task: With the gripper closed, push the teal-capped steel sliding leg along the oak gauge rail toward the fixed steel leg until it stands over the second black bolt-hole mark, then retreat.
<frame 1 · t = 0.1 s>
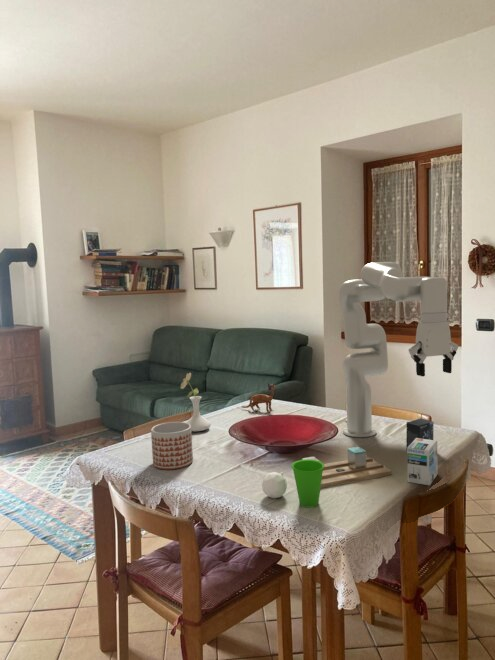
hand: (434, 374, 160), 31 cm above the table, fingers open, 9 cm apart
box: (420, 451, 182), on the table
flower in vase: (196, 430, 218), on the table
sliding leg: (356, 458, 166), point 4 cm above the table, slide at 5.0 cm
ornament: (274, 497, 150), on the table
cup: (309, 504, 145), on the table
light bulb box: (422, 478, 159), on the table
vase: (173, 463, 181), on the table
gauge board: (343, 473, 165), on the table
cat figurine: (258, 411, 245), on the table
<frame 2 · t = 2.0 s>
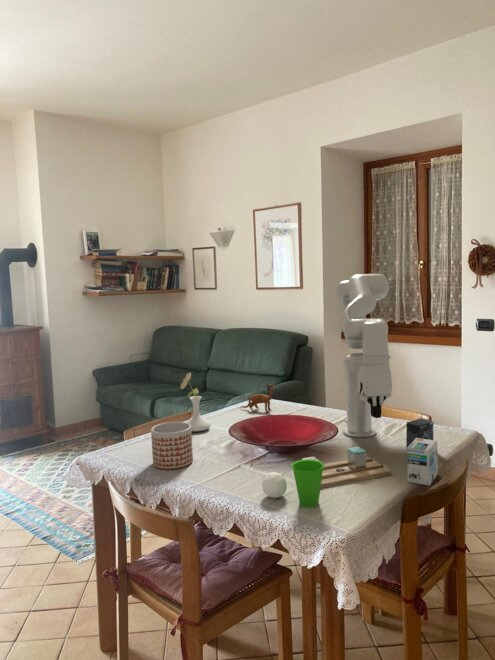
hand: (376, 416, 167), 17 cm above the table, fingers closed
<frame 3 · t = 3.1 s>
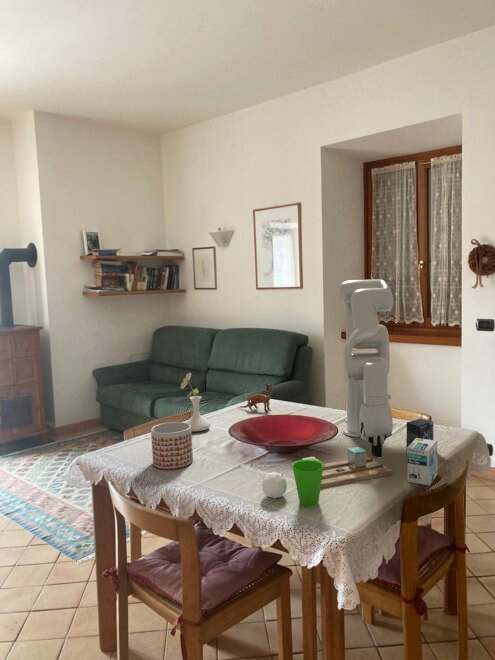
hand: (376, 456, 168), 4 cm above the table, fingers closed
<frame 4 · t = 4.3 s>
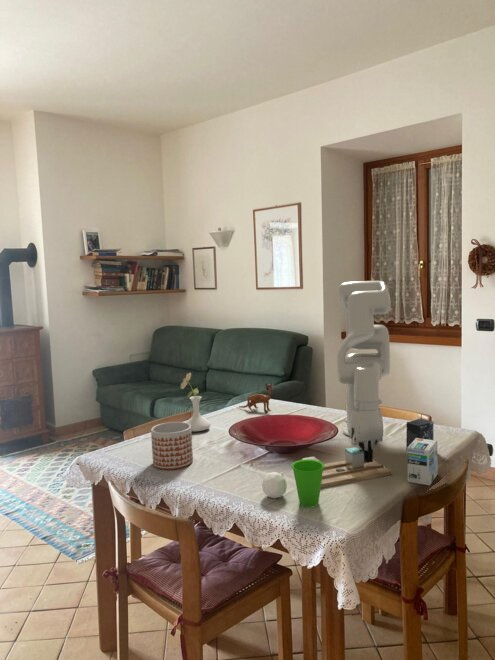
hand: (367, 460, 168), 3 cm above the table, fingers closed
sliding leg: (354, 458, 166), point 4 cm above the table, slide at 4.1 cm, touching gripper
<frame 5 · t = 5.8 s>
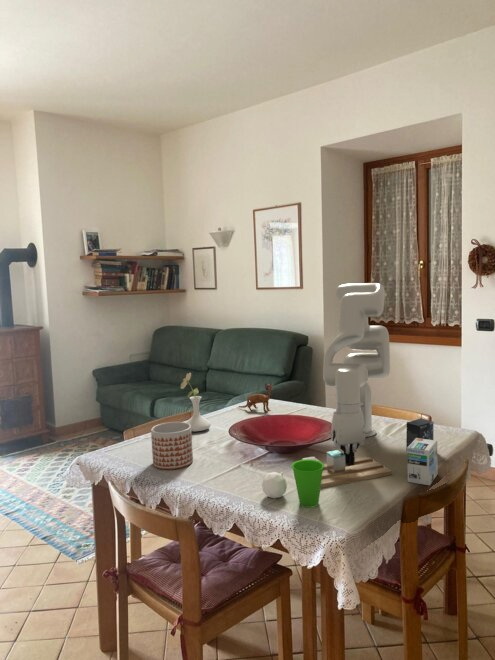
hand: (349, 464, 166), 3 cm above the table, fingers closed
sliding leg: (336, 461, 164), point 4 cm above the table, slide at -2.5 cm, touching gripper
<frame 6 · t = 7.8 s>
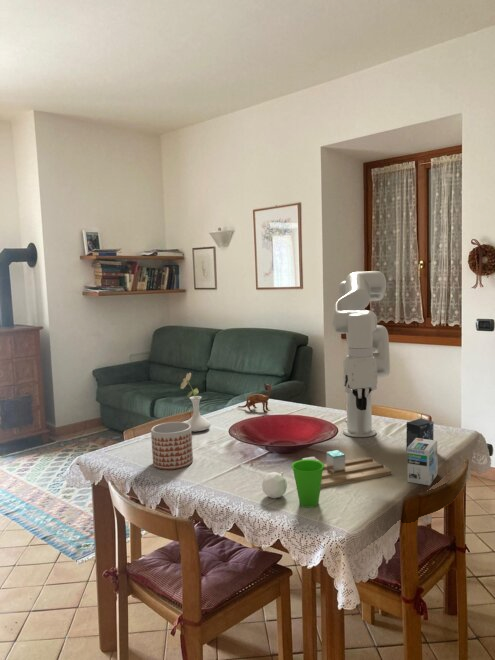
hand: (361, 409, 167), 20 cm above the table, fingers closed
sliding leg: (335, 461, 164), point 4 cm above the table, slide at -2.5 cm
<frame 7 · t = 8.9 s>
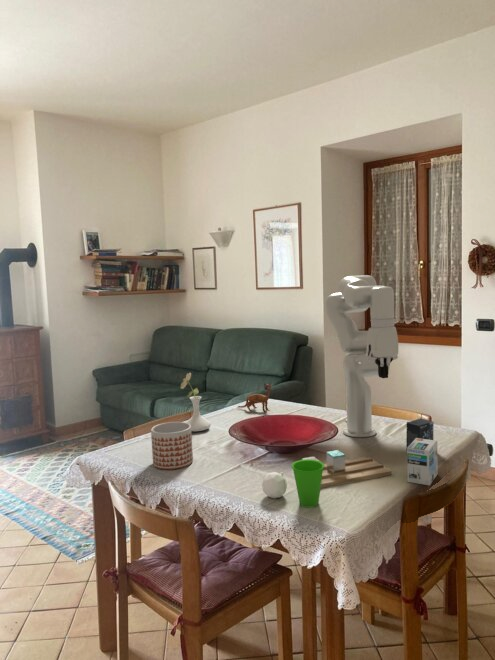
hand: (383, 377, 177), 27 cm above the table, fingers closed
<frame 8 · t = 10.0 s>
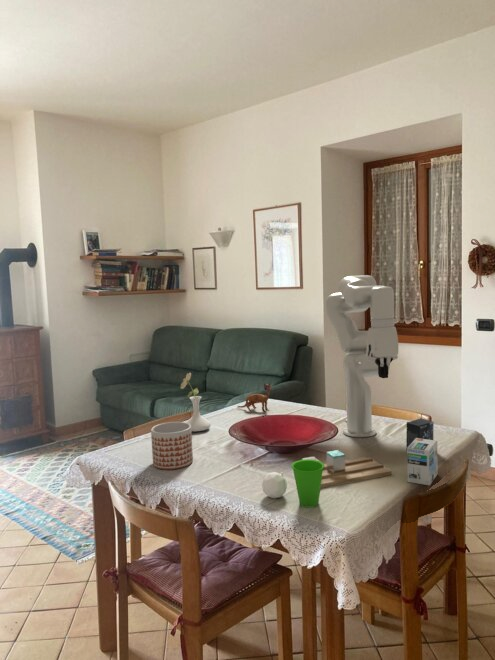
hand: (383, 377, 177), 27 cm above the table, fingers closed
at the end: sliding leg slide at -2.5 cm; sliding leg touching nothing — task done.
